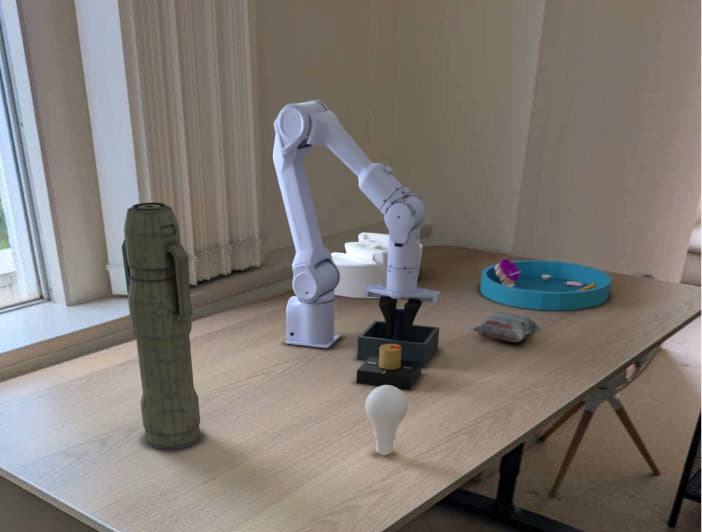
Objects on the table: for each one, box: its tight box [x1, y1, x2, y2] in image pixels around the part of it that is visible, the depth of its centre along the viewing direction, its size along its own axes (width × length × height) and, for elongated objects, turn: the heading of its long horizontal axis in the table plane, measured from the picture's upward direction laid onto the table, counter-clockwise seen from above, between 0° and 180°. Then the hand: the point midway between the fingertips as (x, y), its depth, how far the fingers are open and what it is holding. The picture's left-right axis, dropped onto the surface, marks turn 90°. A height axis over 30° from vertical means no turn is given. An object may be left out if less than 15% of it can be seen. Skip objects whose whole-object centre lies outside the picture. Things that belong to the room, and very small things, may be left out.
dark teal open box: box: [356, 320, 440, 369], centre depth 158 cm, size 13×11×5 cm
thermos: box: [121, 201, 201, 451], centre depth 119 cm, size 9×12×35 cm
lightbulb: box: [365, 385, 408, 456], centre depth 119 cm, size 6×6×11 cm
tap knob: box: [379, 344, 402, 370], centre depth 146 cm, size 4×4×4 cm
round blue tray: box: [479, 258, 613, 311], centre depth 193 cm, size 30×30×6 cm
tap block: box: [356, 356, 422, 391], centre depth 148 cm, size 10×8×3 cm
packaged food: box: [469, 311, 542, 343], centre depth 165 cm, size 9×12×5 cm
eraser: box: [393, 308, 405, 341], centre depth 156 cm, size 2×2×7 cm
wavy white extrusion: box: [330, 231, 424, 299], centre depth 200 cm, size 35×16×11 cm, turn 145°
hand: (398, 336), depth 157 cm, fingers closed on eraser, 2 cm apart
